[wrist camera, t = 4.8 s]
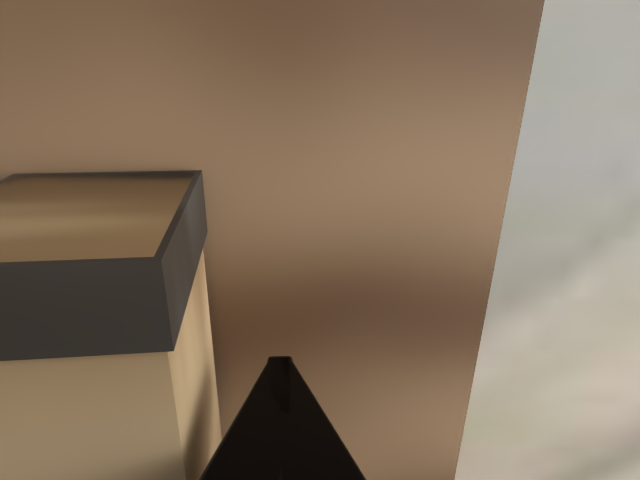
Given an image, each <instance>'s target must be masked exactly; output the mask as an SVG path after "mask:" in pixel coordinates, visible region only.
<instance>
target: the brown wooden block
mask: <svg viewBox="0 0 640 480" xmlns="http://www.w3.org/2000/svg"><path fill="white" fill-rule="evenodd" d="M543 5H544V0H0V181H1V180H2V179H4V178H6V177H8V176H10V175H11V174H16V173H71V172H125V171H180V170H202V176H203V187H204V197H205V208H206V219H207V230H208V232H207V236H206V239H205V243H204V246H203V253H204V263H205V273H206V283H207V293H208V304H209V314H210V324H211V334H212V344H213V355H214V365H215V375H216V385H217V396H218V406H219V416H220V426H221V436H222V439H223V437H224V435H225V434H226V432H227V430H228V429H229V427H230V425H231V423H232V422H233V420H234V418H235V417H236V415H237V413H238V411H239V410H240V408H241V406H242V405H243V403H244V401H245V399H246V398H247V396H248V394H249V393H250V391H251V389H252V387H253V386H254V384H255V382H256V381H257V379H258V377H259V375H260V374H261V372H262V370H263V369H264V367H265V365H266V364H267V359H268V358H269V357H270V356H291V357H292V359H293V363H294V364H295V366H296V367H297V369H298V371H299V372H300V374H301V375H302V377H303V379H304V380H305V382H306V383H307V385H308V387H309V388H310V390H311V391H312V393H313V395H314V396H315V398H316V400H317V401H318V403H319V404H320V406H321V408H322V409H323V411H324V412H325V414H326V416H327V417H328V419H329V420H330V422H331V424H332V425H333V427H334V428H335V430H336V432H337V433H338V435H339V436H340V438H341V440H342V441H343V443H344V444H345V446H346V448H347V449H348V451H349V453H350V454H351V456H352V457H353V459H354V461H355V462H356V464H357V465H358V467H359V469H360V470H361V472H362V473H363V475H364V477H365V478H366V480H454V478H455V472H456V467H457V462H458V457H459V451H460V446H461V441H462V435H463V430H464V425H465V419H466V414H467V409H468V403H469V398H470V393H471V388H472V382H473V377H474V372H475V366H476V361H477V356H478V350H479V345H480V340H481V334H482V329H483V324H484V318H485V313H486V308H487V303H488V297H489V292H490V287H491V281H492V276H493V271H494V265H495V260H496V255H497V249H498V244H499V239H500V234H501V228H502V223H503V218H504V212H505V207H506V202H507V196H508V191H509V186H510V180H511V175H512V170H513V164H514V159H515V154H516V149H517V143H518V138H519V133H520V127H521V122H522V117H523V111H524V106H525V101H526V95H527V90H528V85H529V80H530V74H531V69H532V64H533V58H534V53H535V48H536V42H537V37H538V32H539V26H540V21H541V16H542V11H543Z"/></svg>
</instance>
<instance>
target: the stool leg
mask: <svg viewBox="0 0 640 480" xmlns="http://www.w3.org/2000/svg"><path fill="white" fill-rule="evenodd" d="M207 232H208V230H207V219H206V208H205V197H204V187H203V176H202V170H180V171H125V172H71V173H16V174H11V175H10V176H8V177H6V178H4V179H2V180H1V181H0V480H199V478H200V476H201V475H202V473H203V471H204V470H205V468H206V466H207V464H208V463H209V461H210V459H211V458H212V456H213V454H214V453H215V451H216V449H217V447H218V446H219V444H220V442H221V441H222V436H221V426H220V416H219V406H218V396H217V385H216V375H215V365H214V355H213V344H212V334H211V324H210V314H209V304H208V293H207V283H206V273H205V263H204V253H203V246H204V243H205V239H206V236H207Z"/></svg>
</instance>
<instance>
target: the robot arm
mask: <svg viewBox="0 0 640 480" xmlns="http://www.w3.org/2000/svg"><path fill="white" fill-rule="evenodd" d="M199 480H366V478H365V477H364V475H363V473H362V472H361V470H360V469H359V467H358V465H357V464H356V462H355V461H354V459H353V457H352V456H351V454H350V453H349V451H348V449H347V448H346V446H345V444H344V443H343V441H342V440H341V438H340V436H339V435H338V433H337V432H336V430H335V428H334V427H333V425H332V424H331V422H330V420H329V419H328V417H327V416H326V414H325V412H324V411H323V409H322V408H321V406H320V404H319V403H318V401H317V400H316V398H315V396H314V395H313V393H312V391H311V390H310V388H309V387H308V385H307V383H306V382H305V380H304V379H303V377H302V375H301V374H300V372H299V371H298V369H297V367H296V366H295V364H294V363H293V359H292V357H291V356H270V357H269V358H268V359H267V364H266V365H265V367H264V369H263V370H262V372H261V374H260V375H259V377H258V379H257V381H256V382H255V384H254V386H253V387H252V389H251V391H250V393H249V394H248V396H247V398H246V399H245V401H244V403H243V405H242V406H241V408H240V410H239V411H238V413H237V415H236V417H235V418H234V420H233V422H232V423H231V425H230V427H229V429H228V430H227V432H226V434H225V435H224V437H223V439H222V441H221V442H220V444H219V446H218V447H217V449H216V451H215V453H214V454H213V456H212V458H211V459H210V461H209V463H208V464H207V466H206V468H205V470H204V471H203V473H202V475H201V476H200V478H199Z"/></svg>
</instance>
